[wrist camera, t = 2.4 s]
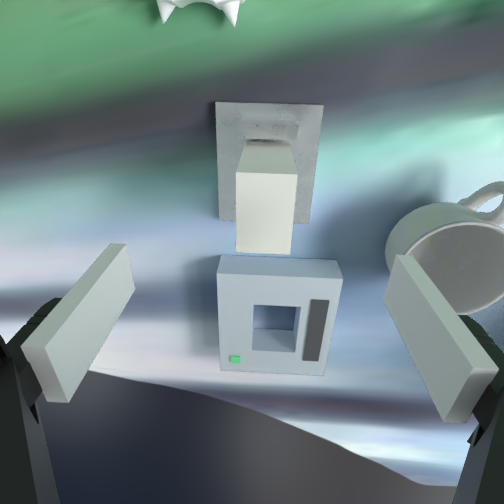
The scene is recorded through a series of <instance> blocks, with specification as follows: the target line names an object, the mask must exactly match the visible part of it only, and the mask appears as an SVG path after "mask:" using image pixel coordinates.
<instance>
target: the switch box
mask: <svg viewBox="0 0 504 504" xmlns="http://www.w3.org/2000/svg"><path fill="white" fill-rule="evenodd" d="M342 283H343V277H342V274H341V271H340V268H339V265H338V262H337V260H325V259H303V258H280V257H258V256H235V255H221V258H220V262H219V266H218V269H217V297H218V322H219V347H220V370H221V371H240V372H258V373H276V374H294V375H312V376H324V371H325V366H326V361H327V356H328V352H329V347H330V342H331V337H332V332H333V327H334V322H335V317H336V312H337V308H338V303H339V298H340V293H341V288H342ZM254 305H273V306H293V307H296V311H295V320H294V328H293V330H275V329H255V328H253V320H254Z"/></svg>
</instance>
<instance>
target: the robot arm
mask: <svg viewBox="0 0 504 504" xmlns="http://www.w3.org/2000/svg"><path fill="white" fill-rule="evenodd" d="M134 290H135V285H134V281H133V276H132V271H131V266H130V261H129V256H128V251H127V246H126V244H112V243H111V244H110V245H109V246H108V247H107V248H106V249H105V250H104V252H103V253H102V254H101V255H100V256H99V257H98V258H97V260H96V261H95V262H94V263H93V264H92V265H91V266H90V268H89V269H88V270H87V271H86V272H85V273H84V274H83V276H82V277H81V278H80V279H79V280H78V281H77V282H76V284H75V285H74V286H73V287H72V288H71V289H70V290H69V292H68V293H67V294H66V295H65V296H64V297H63V298H54V299H52V300H51V301H49V302H47V303H46V304H44V305H43V306H42V307H41V308H40V309H39V310H38V311H37V312H36V313H35V314H34V317H31V318H30V319H29V321H28V322H27V324H26V325H24V326H23V327H22V328H21V329H20V330H19V331H18V332H17V333H16V334H15V336H14V337H13V338H12V339H11V340H10V341H9V342H8V343H7V344H5V342H4V340H3V338H2V337H1V335H0V504H60V503H59V499H58V494H57V490H56V485H55V481H54V477H53V472H52V467H51V463H50V458H49V454H48V449H47V444H46V440H45V435H44V431H43V427H42V422H41V417H40V413H39V408H38V405H37V403H36V402H35V401H36V399H37V398H38V397H39V395H40V393H41V392H43V394H44V396H45V398H46V400H47V402H64V403H69V401H70V399H71V398H72V396H73V394H74V393H75V391H76V389H77V388H78V386H79V384H80V382H81V381H82V379H83V377H84V375H85V374H86V372H87V371H88V369H89V367H90V365H91V364H92V362H93V360H94V359H95V357H96V355H97V353H98V352H99V350H100V348H101V347H102V345H103V343H104V342H105V340H106V338H107V336H108V335H109V333H110V331H111V330H112V328H113V326H114V325H115V323H116V321H117V319H118V318H119V316H120V314H121V313H122V311H123V309H124V307H125V306H126V304H127V302H128V301H129V299H130V297H131V296H132V294H133V292H134ZM383 301H384V303H385V305H386V307H387V309H388V311H389V313H390V315H391V317H392V319H393V321H394V323H395V325H396V327H397V329H398V331H399V333H400V335H401V337H402V339H403V341H404V343H405V346H406V348H407V350H408V352H409V354H410V356H411V358H412V360H413V362H414V364H415V366H416V368H417V370H418V372H419V374H420V376H421V378H422V380H423V382H424V384H425V386H426V388H427V390H428V392H429V394H430V396H431V398H432V400H433V402H434V404H435V406H436V408H437V410H438V412H439V414H440V416H441V418H442V420H443V422H454V423H466V422H467V420H468V419H469V417H470V416H471V414H472V412H473V414H474V415H475V417H476V419H477V420H478V422H479V424H478V426H477V427H476V429H475V430H474V432H473V433H472V435H471V436H470V438H469V439H468V441H467V442H468V443H470V444H471V445H470V448H469V451H468V454H467V457H466V460H465V464H464V467H463V470H462V473H461V476H460V480H459V483H458V486H457V489H456V493H455V496H454V499H453V502H452V504H504V354H503V352H502V351H501V350H500V349H499V348H498V346H497V345H495V343H494V341H493V340H492V339H491V338H490V337H488V334H487V333H486V332H485V330H484V329H483V328H482V327H481V326H480V324H478V323H477V322H476V321H474V320H473V319H472V318H470V317H469V316H467V315H457V313H456V312H455V311H454V309H453V308H452V307H451V305H450V304H449V303H448V302H447V300H446V299H445V298H444V296H443V295H442V294H441V292H440V291H439V290H438V288H437V287H436V286H435V285H434V283H433V282H432V281H431V279H430V278H429V277H428V275H427V274H426V273H425V271H424V270H423V269H422V268H421V266H420V265H419V264H418V262H417V261H416V260H415V258H414V257H413V256H412V255H396V257H395V260H394V264H393V267H392V270H391V274H390V277H389V281H388V284H387V287H386V291H385V294H384V298H383Z"/></svg>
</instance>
